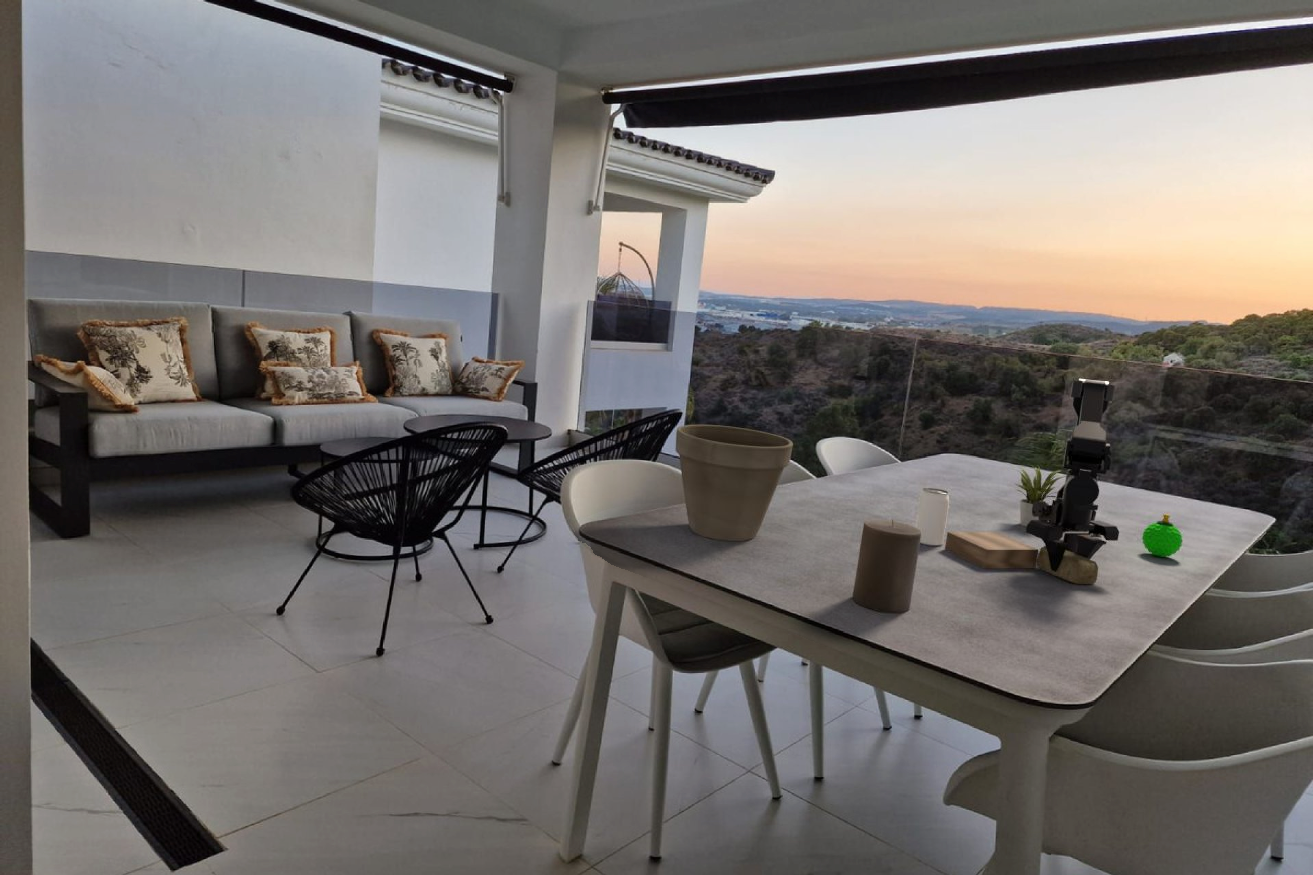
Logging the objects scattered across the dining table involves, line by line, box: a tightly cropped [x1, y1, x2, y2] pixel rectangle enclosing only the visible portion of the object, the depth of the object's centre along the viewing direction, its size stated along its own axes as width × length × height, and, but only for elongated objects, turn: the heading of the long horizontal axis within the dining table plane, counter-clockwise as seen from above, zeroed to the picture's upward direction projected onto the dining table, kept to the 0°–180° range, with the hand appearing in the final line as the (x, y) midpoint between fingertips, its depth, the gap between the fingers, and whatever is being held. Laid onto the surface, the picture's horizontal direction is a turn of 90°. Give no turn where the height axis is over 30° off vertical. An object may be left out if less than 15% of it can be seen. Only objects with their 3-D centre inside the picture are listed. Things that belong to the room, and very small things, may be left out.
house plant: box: [1014, 465, 1066, 528], centre depth 214 cm, size 14×14×16 cm
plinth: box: [944, 531, 1039, 569], centre depth 180 cm, size 13×13×4 cm
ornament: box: [1141, 513, 1184, 558], centre depth 195 cm, size 8×8×10 cm
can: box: [914, 487, 950, 547], centre depth 188 cm, size 6×6×12 cm
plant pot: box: [675, 424, 794, 542], centre depth 179 cm, size 25×25×22 cm
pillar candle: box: [852, 518, 921, 614], centre depth 143 cm, size 10×10×15 cm
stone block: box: [1036, 546, 1099, 585], centre depth 171 cm, size 6×12×5 cm, turn 19°
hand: (1065, 570), depth 171 cm, fingers closed on stone block, 6 cm apart
